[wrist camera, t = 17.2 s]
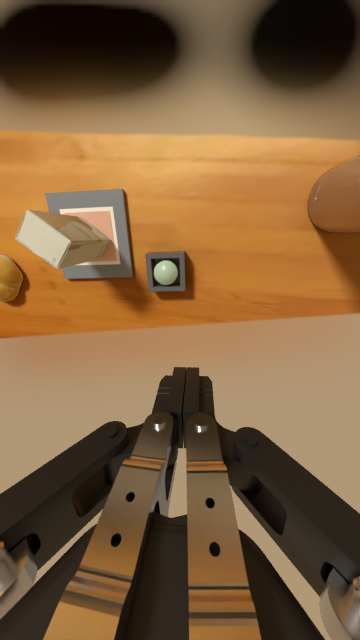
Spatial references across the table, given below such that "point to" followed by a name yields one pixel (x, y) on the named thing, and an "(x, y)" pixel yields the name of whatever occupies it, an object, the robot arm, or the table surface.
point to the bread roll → (9, 279)
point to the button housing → (157, 257)
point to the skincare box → (61, 238)
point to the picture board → (108, 218)
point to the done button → (166, 272)
